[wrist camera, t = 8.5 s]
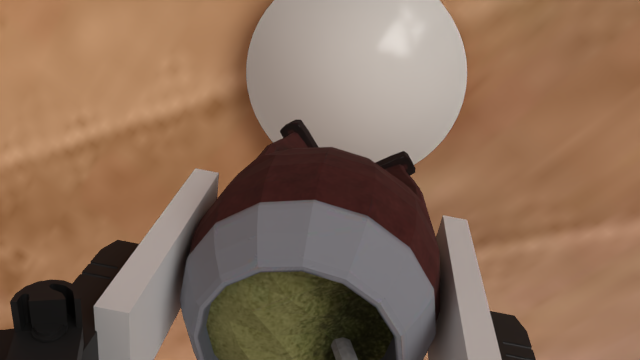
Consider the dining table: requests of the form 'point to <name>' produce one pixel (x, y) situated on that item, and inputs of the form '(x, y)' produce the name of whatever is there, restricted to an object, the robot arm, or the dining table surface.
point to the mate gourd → (314, 260)
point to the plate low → (359, 73)
